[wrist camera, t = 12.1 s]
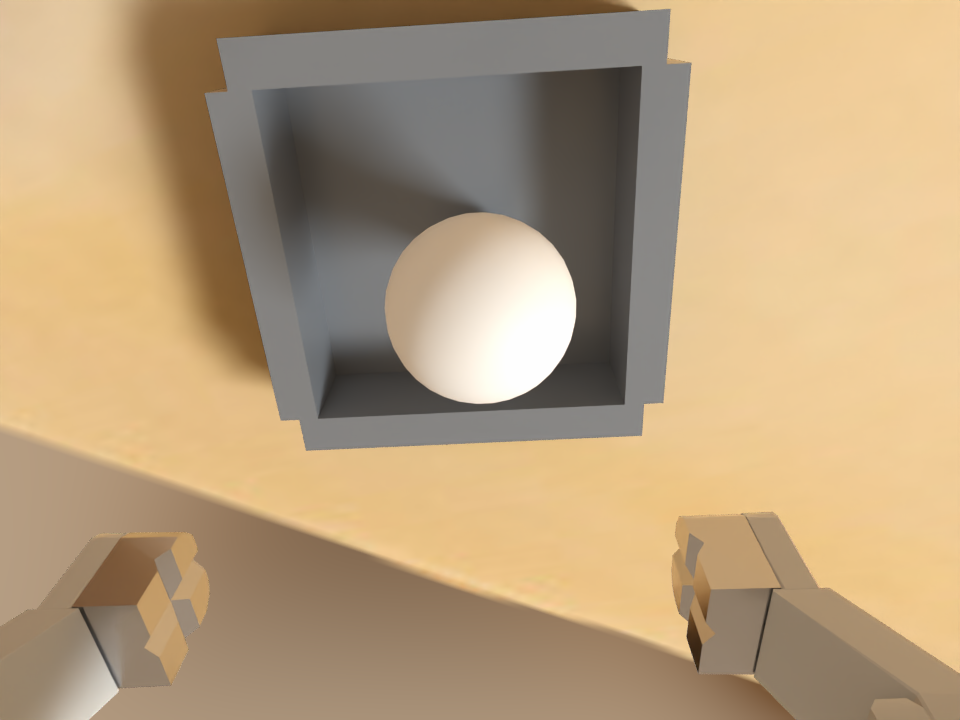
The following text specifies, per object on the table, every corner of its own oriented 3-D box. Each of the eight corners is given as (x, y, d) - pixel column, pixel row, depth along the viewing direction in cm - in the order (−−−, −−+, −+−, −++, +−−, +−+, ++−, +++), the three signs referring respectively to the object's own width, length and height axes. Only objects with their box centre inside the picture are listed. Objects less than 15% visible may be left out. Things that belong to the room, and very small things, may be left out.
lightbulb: (513, 323, 30) (527, 469, 20) (388, 269, 29) (341, 396, 19) (577, 203, 27) (630, 303, 18) (444, 138, 26) (421, 207, 16)
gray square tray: (661, 10, 25) (695, 7, 21) (638, 383, 32) (660, 434, 28) (238, 37, 25) (191, 40, 21) (312, 398, 33) (288, 451, 29)
